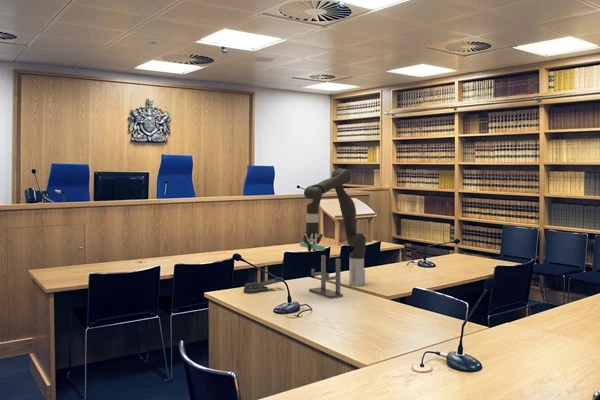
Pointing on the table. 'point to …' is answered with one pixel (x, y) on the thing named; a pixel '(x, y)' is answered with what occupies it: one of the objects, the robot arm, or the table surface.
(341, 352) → the table surface
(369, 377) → the table surface
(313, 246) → the teal rail
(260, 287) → the dark grey elongated piece
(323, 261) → the hook rack
